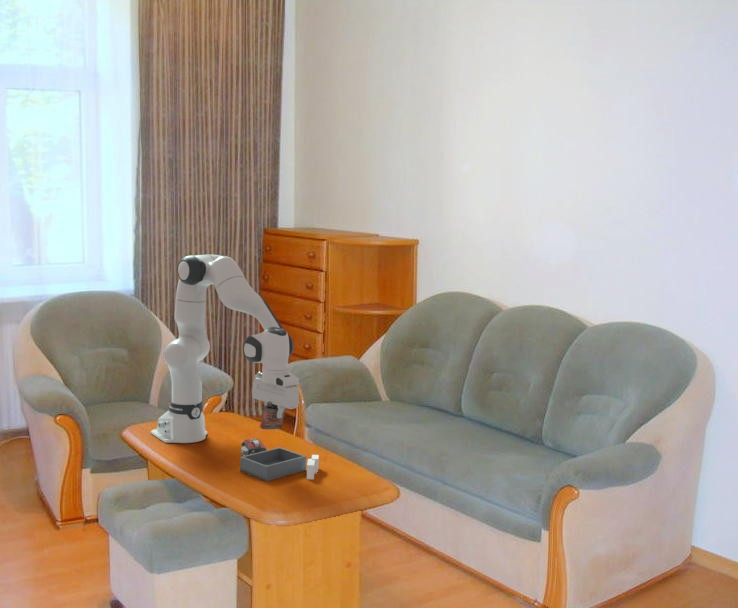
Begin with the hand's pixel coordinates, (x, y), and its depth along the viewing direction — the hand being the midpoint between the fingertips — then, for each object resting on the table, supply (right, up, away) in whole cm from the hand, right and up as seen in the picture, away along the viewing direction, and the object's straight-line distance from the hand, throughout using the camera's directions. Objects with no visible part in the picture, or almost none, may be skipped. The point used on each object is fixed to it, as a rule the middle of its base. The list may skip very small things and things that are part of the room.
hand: (274, 416), depth 301 cm
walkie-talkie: (-10, -17, +21) cm, 28 cm away
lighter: (-1, -4, +2) cm, 5 cm away
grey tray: (-1, -19, +2) cm, 19 cm away
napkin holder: (+13, -20, +2) cm, 24 cm away
